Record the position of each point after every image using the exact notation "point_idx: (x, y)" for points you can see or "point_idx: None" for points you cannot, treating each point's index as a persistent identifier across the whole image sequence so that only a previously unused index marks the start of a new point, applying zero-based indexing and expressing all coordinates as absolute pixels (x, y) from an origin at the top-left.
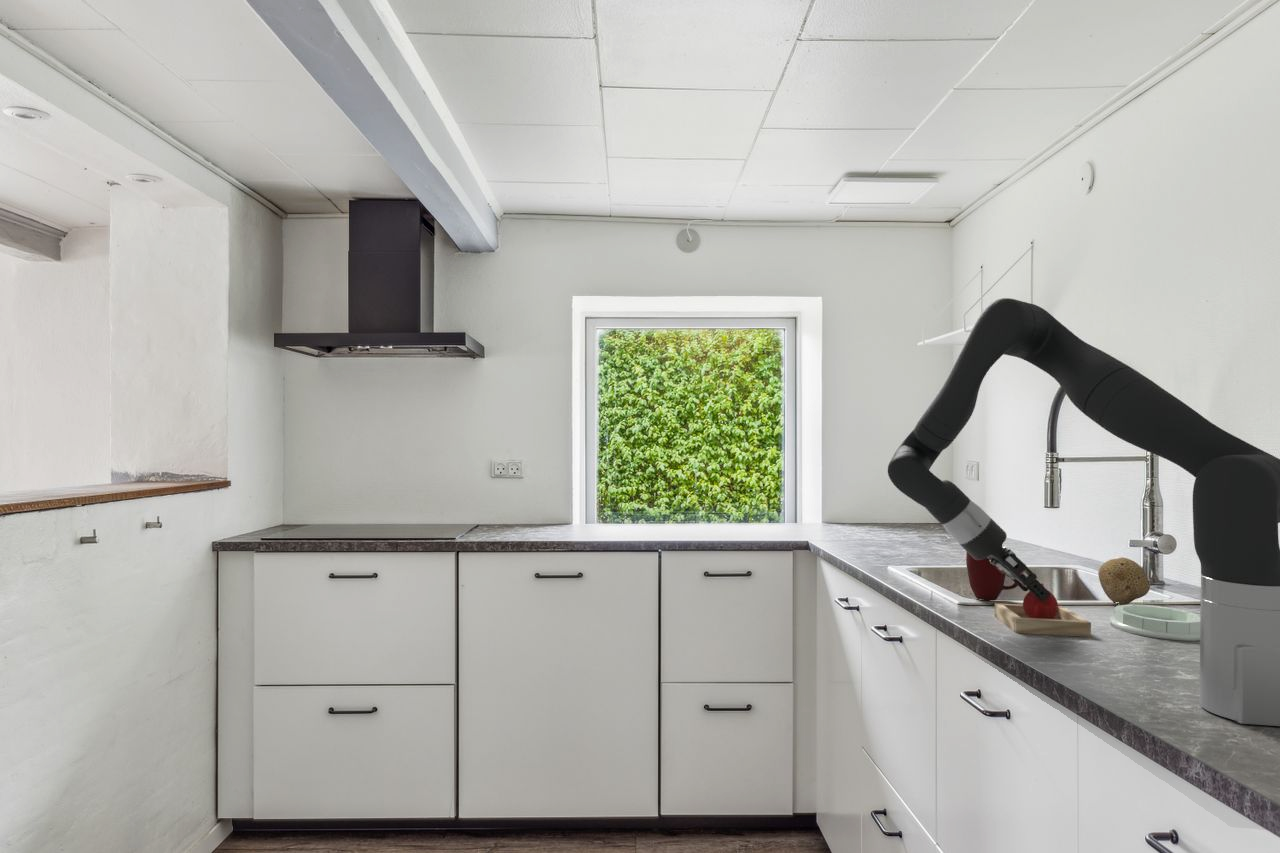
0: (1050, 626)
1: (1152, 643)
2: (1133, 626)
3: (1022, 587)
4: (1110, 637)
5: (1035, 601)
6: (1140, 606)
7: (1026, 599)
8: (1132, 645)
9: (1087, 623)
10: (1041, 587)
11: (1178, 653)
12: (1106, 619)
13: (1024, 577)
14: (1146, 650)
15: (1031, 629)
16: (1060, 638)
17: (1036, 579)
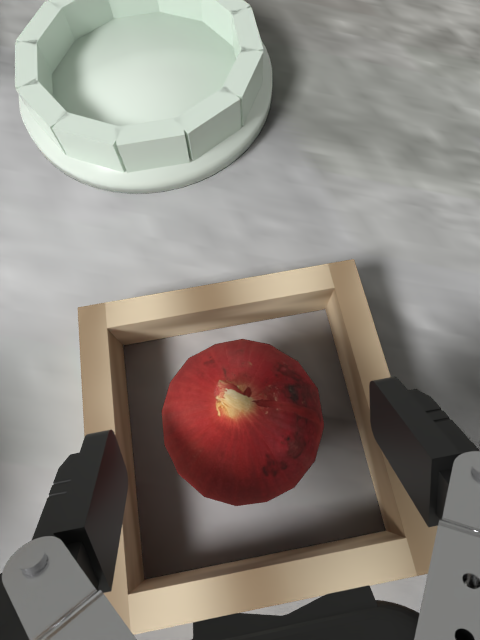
0: None
1: (340, 139)
2: (219, 142)
3: (121, 496)
4: (318, 228)
5: (313, 450)
6: (37, 68)
7: (270, 492)
8: (397, 191)
9: (357, 272)
10: (453, 424)
11: (427, 108)
12: (51, 190)
13: (101, 485)
14: (440, 170)
15: None
16: (422, 387)
17: (457, 449)
